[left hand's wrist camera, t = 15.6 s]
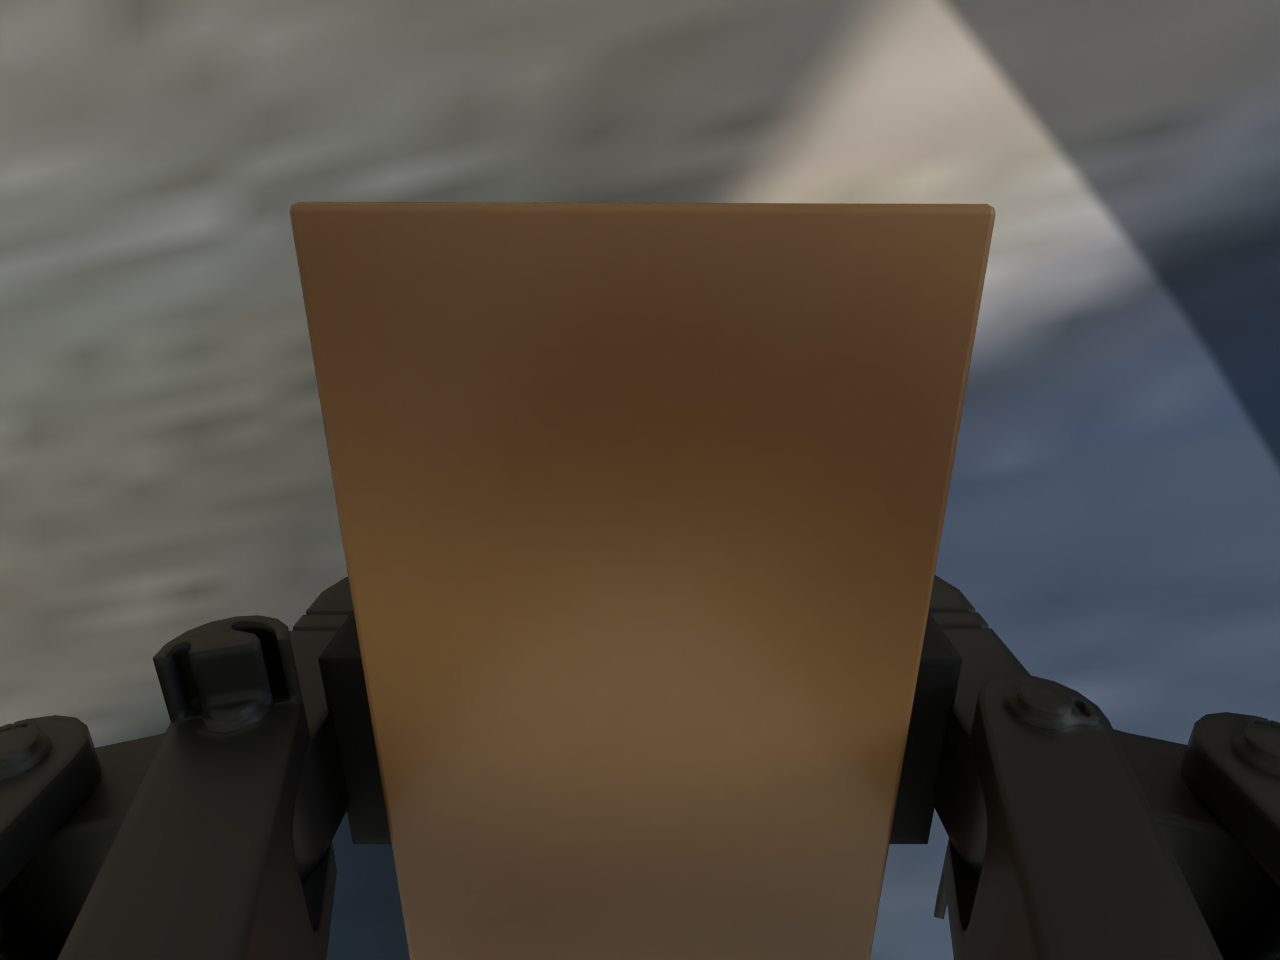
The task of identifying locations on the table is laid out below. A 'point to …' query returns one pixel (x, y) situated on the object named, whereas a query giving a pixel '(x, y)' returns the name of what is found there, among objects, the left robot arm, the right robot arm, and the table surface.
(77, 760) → the left robot arm
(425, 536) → the bar
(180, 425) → the table surface
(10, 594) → the table surface
